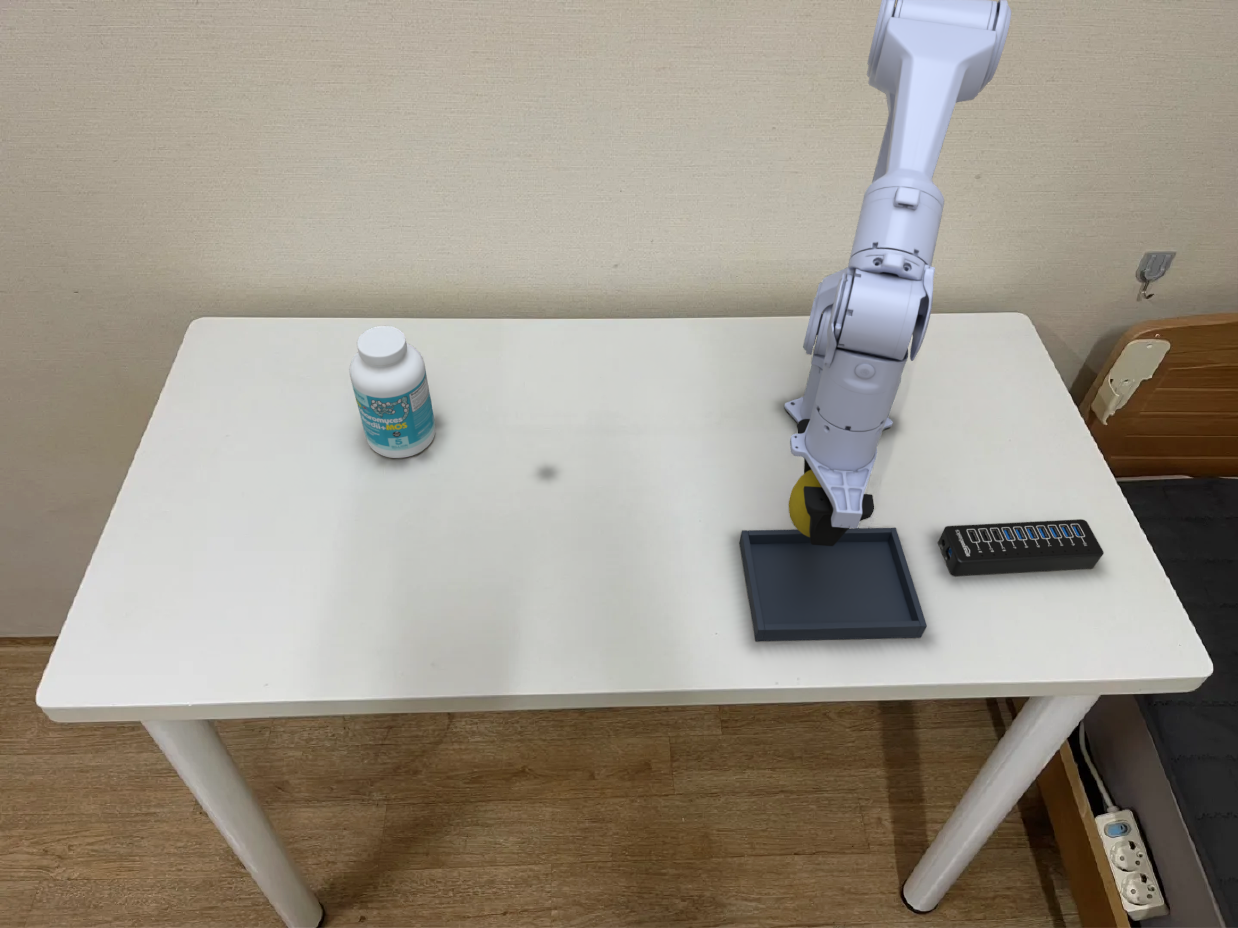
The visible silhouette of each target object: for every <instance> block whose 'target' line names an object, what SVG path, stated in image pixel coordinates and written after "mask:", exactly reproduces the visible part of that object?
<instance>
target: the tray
mask: <svg viewBox="0 0 1238 928" xmlns="http://www.w3.org/2000/svg"><path fill="white" fill-rule="evenodd" d="M738 543H739V549H740V555H741V556H740V557H741V561H742V568H743V575H744V580H745V588H746V593H747V599H748V604H749V605H748V606H749V610H750V611H749V612H750V616H751V622H752V630H753V635H754V641H755V642H756V643H757V642H758V643H759V642H796V641H836V640H837V641H838V640H839V641H840V640H878V639H879V640H880V639H881V640H882V639H883V640H884V639H885V640H886V639H921V638H922V636H923V635H924V633H925V631H926V629H927V627H928V625H927V621H926V619H925V618H926V617H925V615H924V613H923V609H922V605H921V603H920V599H919V597H918V594H917V589H916V587H915V584H914V581H913V578H912V574H911V572H910V568H909V566H908V561H907V558H906V555H905V552H904V549H903V546H902V542H901V539H900V536H899V533H898V530H897V527H857V528H849V529H848V530H847V531H846V532H845V533H844V534H843V536H842V537H841V538H840V539H839V540H838V541H837V543H836V544H835V545H834V546H822V545H812V544H811V542H810V537H808V536H806V535H804V534H802V533H801V532H800V531H799V530H797V528H795V529H751V530H750V529H747V530H745V529H744V530H743V529H742V530H741V532H740V538H739V542H738Z"/></svg>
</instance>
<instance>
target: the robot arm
mask: <svg viewBox="0 0 1238 928" xmlns="http://www.w3.org/2000/svg"><path fill="white" fill-rule="evenodd" d="M1011 20H1012V9H1011V7H1010V5H1009V2H1008V0H998V1H997V0H881V2H880V5H879V10H878V14H877V19H876V24H875V28H874V32H873V36H872V40H871V45H870V50H869V55H868V58H867V65H868V66H867V72H866V76H867V77H868V82H867V84H868V85H869V86H870V87H872V88H874V89H876V90H878V91H879V92H881V93H883V94H884V95H885V99H886V106H887V113H888V116H887V120H886V124H885V128H884V131H883V136H882V139H881V144H880V148H879V152H878V157H877V161H876V164H875V168H874V172H873V173H874V174H873V176H872V179H871V184H870V185H869V186H867V188H866V189H865V192H864V194H863V198H862V202H861V206H860V211H859V216H858V220H857V225H856V230H855V234H854V238H853V242H852V247H851V251H850V255H849V260H848V263H847V267H844V268H843V269H840V270H837V271H836V272H833V273H831V274H829V275H827V276H825V277H823V278H822V281H821V282H818V286H817V290H816V295H815V296H814V298H813V301H812V306H811V309H810V315H809V317H808V323H807V327H806V331H805V336H804V340H803V346H802V348H803V350H804V351H805V354H807V355H810V356H812V357H811V361H810V368H809V371H808V372H809V374H808V375H807V381H806V385H805V389H804V393H803V396H801V397H798V398H795V399H792V400H790V401H786V402H785V403H784V406H783V408H784V409H785V410H786V412H788V414H789V415H790V416H791V418H793V419H794V421H795V422H796V423H797V424H796V429H797V433H793V434H791V435H790V439H789V450H790V454H791V455H793V456H794V457H798V458H799V457H800V458H803V474H805V473H806V472H807V471H809V470H811V469H812V471H813V473H814V474H815V476H816V478H817V479H818V481H819V483H820V484H821V486H822V487H811V486H804V489H803V490H804V500H805V506H806V510H807V513H808V514H809V516H810V527H809V532H810V542H811V544H812V545H822V546H834V545H835V544H836V543H837V541H838V540H839V539H840V538H841V537H842V536H843V534H844V533H845V532H846V531H847V530H848V529H849V528H859V524H860V522H862V521H864V520H868V519H870V518H871V517H872V516H873V513H874V511H875V502H874V495H873V494H872V493H865V492H866V489H867V486H868V483H869V480H870V478H871V474H872V471H873V468H874V465H875V462H876V459H877V455H878V445H879V442H880V439H881V436H882V433H883V431H884V430H886V429H888V428H891V427H892V426H893V423H894V421H893V420H892V419H891V418H890V417H889V416H890V413H891V411H892V408H893V405H894V402H895V398H896V396H897V393H898V390H899V388H900V386H901V385H900V384H901V381H902V375H903V372H904V370H905V366H906V364H907V361H908V357H909V359H910V362H914V360H915V358H916V357H917V355H918V353H919V351H920V349H921V347H922V345H923V342H924V339H925V337H926V333H927V330H928V327H929V323H930V319H931V316H932V315H931V314H932V310H933V304H934V303H933V302H934V280H935V273H936V267H935V266H932V265H933V260H934V259H933V258H934V255H935V250H936V245H937V240H938V235H939V231H940V226H941V221H942V216H943V212H944V207H945V197H944V194H943V193H942V191H941V189H940V188H939V187H938V186H937V185H936V184H935V182H934V181H933V177H934V174H935V171H936V169H937V165H938V161H939V159H940V154H941V151H942V148H943V145H944V142H945V139H946V136H947V132H948V129H949V126H950V122H951V119H952V116H953V113H954V110H955V107H956V104H957V103H962V102H968V101H974V99H975V98H976V97H978V95H979V94H980V93H981V92H982V91H983V90H984V88H986V87H987V85H988V84H989V83H990V82H991V81H992V80H993V78H994V76H995V74H996V71H997V69H998V66H999V63H1000V60H1001V58H1002V54H1003V52H1004V48H1005V44H1006V40H1007V37H1008V34H1009V30H1010V25H1011ZM910 343H911V345H910ZM909 346H910V351H909Z"/></svg>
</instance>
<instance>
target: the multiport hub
mask: <svg viewBox="0 0 1238 928" xmlns="http://www.w3.org/2000/svg"><path fill="white" fill-rule="evenodd" d="M937 544H938V547H939V550H940V552H941V554H942V557H943V559H944V562H945V565H946V567H947V570H948V572H949V574H950V575H951V576H952V577H965V576H967V577H968V576H986V575H1001V574H1002V575H1004V574H1005V575H1006V574H1021V573H1022V574H1023V573H1025V574H1026V573H1041V572H1058V571H1059V572H1061V571H1076V570H1077V571H1078V570H1079V571H1080V570H1093V569H1094V568H1095V567H1096V565H1097V564H1098V563H1099V561H1100V560H1101V559H1102V557H1103V556H1104V553H1105V552H1104V550H1103V548H1102V546H1101V544H1100V543H1099V540H1098V539H1097V537H1096V536H1095V534H1094V532H1093V530H1092V528H1091V526H1090V524H1089V523H1088V522H1087V520H1085V519H1082V518H1080V519H1060V520H1058V519H1057V520H1039V521H1021V522H1020V521H1019V522H1003V523H1002V522H1001V523H1000V522H999V523H980V524H979V523H978V524H965V525H964V524H960V525H958V524H957V525H946V526H945V527H944V528H943V531H942V533H941V534H940V537H939V539H938V541H937Z"/></svg>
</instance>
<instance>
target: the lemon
mask: <svg viewBox="0 0 1238 928" xmlns="http://www.w3.org/2000/svg"><path fill="white" fill-rule="evenodd" d="M804 486H811V487H822V486H821V484H820V483H819V481H818V479H817V478H816V476H815V474H814V473H813V471H812V469H811V470H809V471H807V472H806V473H805V474H804V473H803V474H802V475H801V476H800V477H799V478H798V479H797V480H796V483H795V484H794V485H793V487H792V489H791V492H790V495H789V499H788V515H789V518H790V520H791V523H792V525H793V526H794V527H795V529H797V530H799V531H800V532H801V533H802V534H804V535H806V536H808V537H810V532H809V527H810V516H809V514H808V513H807V510H806V506H805V500H804V490H803V489H804Z"/></svg>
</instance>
